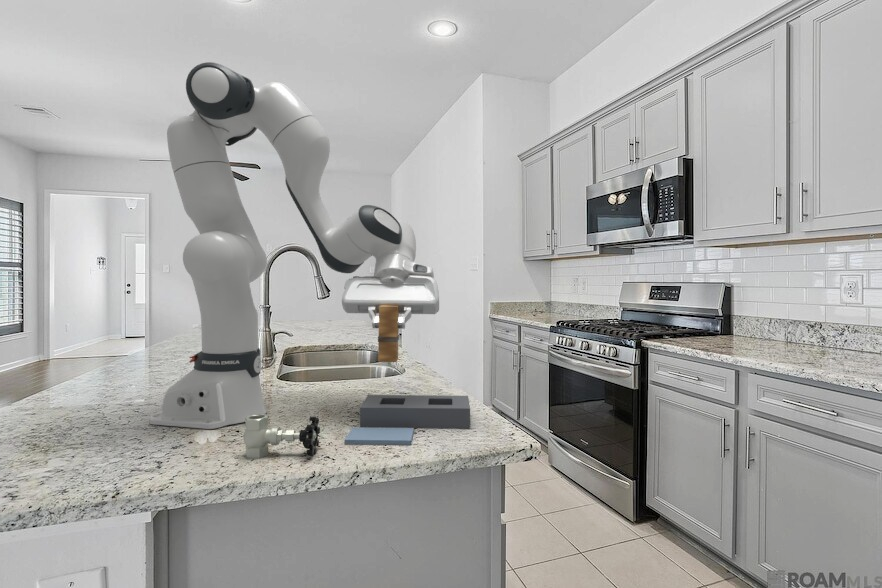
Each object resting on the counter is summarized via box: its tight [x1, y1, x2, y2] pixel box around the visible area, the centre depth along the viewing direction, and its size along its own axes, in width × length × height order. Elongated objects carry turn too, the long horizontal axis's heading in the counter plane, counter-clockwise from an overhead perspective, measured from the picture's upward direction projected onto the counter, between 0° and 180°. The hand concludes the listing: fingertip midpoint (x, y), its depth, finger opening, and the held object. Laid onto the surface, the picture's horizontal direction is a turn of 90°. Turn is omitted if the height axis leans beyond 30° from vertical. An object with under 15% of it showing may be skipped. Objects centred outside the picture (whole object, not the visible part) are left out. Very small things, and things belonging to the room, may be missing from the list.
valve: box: [243, 414, 321, 459], centre depth 81 cm, size 7×7×12 cm
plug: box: [377, 305, 400, 363], centre depth 96 cm, size 4×4×11 cm
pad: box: [343, 426, 415, 446], centre depth 89 cm, size 12×7×1 cm, turn 89°
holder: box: [359, 394, 471, 429], centre depth 100 cm, size 22×10×4 cm, turn 89°
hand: (388, 326), depth 95 cm, fingers closed on plug, 4 cm apart
